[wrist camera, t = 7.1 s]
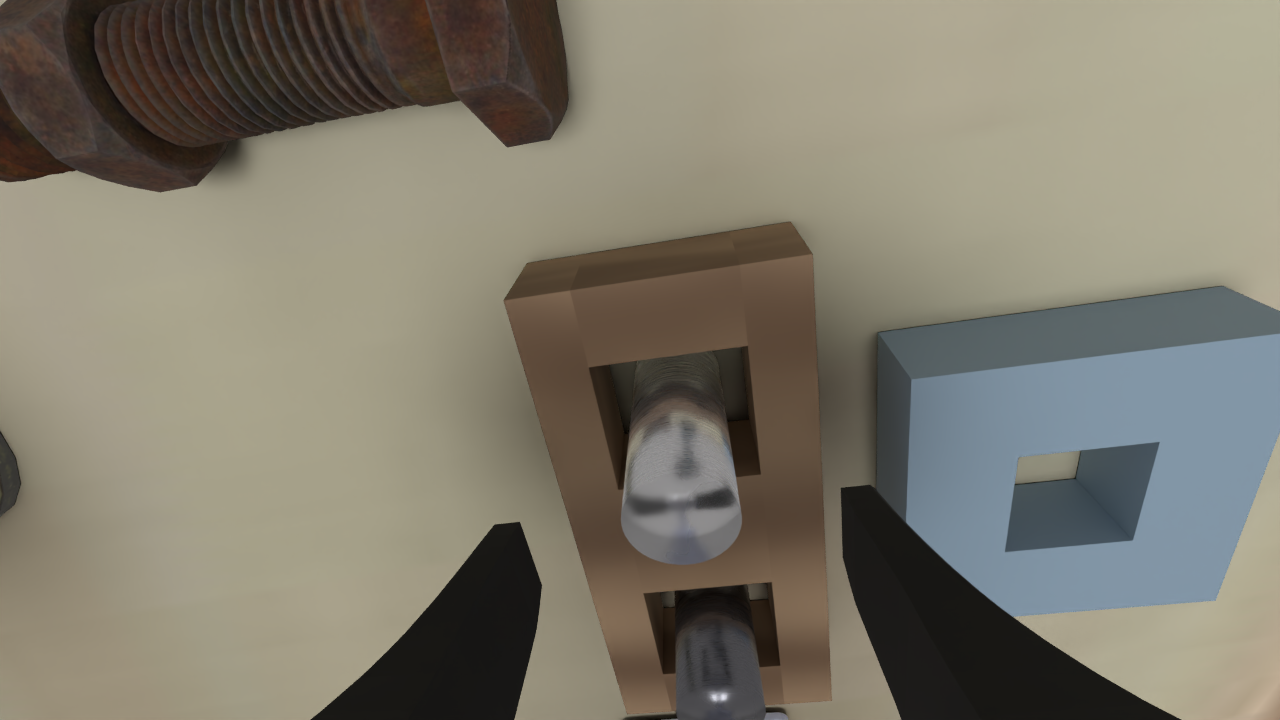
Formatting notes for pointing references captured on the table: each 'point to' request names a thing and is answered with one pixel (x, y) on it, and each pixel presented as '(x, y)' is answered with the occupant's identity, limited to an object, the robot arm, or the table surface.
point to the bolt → (255, 76)
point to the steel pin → (680, 462)
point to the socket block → (1084, 445)
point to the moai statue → (7, 477)
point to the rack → (761, 446)
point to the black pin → (716, 655)
